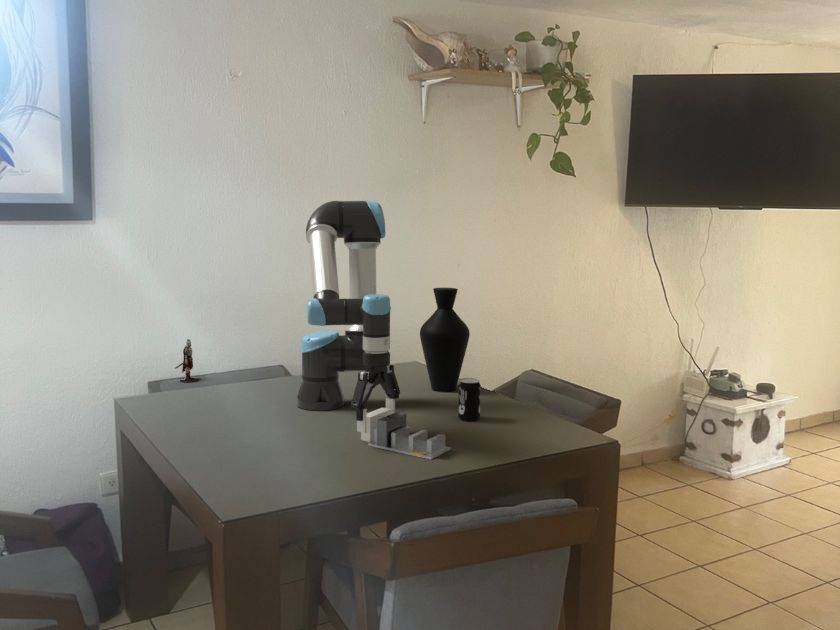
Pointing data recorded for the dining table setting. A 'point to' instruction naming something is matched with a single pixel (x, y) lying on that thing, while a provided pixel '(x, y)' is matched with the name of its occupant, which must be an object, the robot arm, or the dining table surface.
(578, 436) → the dining table surface
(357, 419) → the robot arm
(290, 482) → the dining table surface
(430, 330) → the vase
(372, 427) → the blank panel
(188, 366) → the figurine
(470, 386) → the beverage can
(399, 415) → the rack
